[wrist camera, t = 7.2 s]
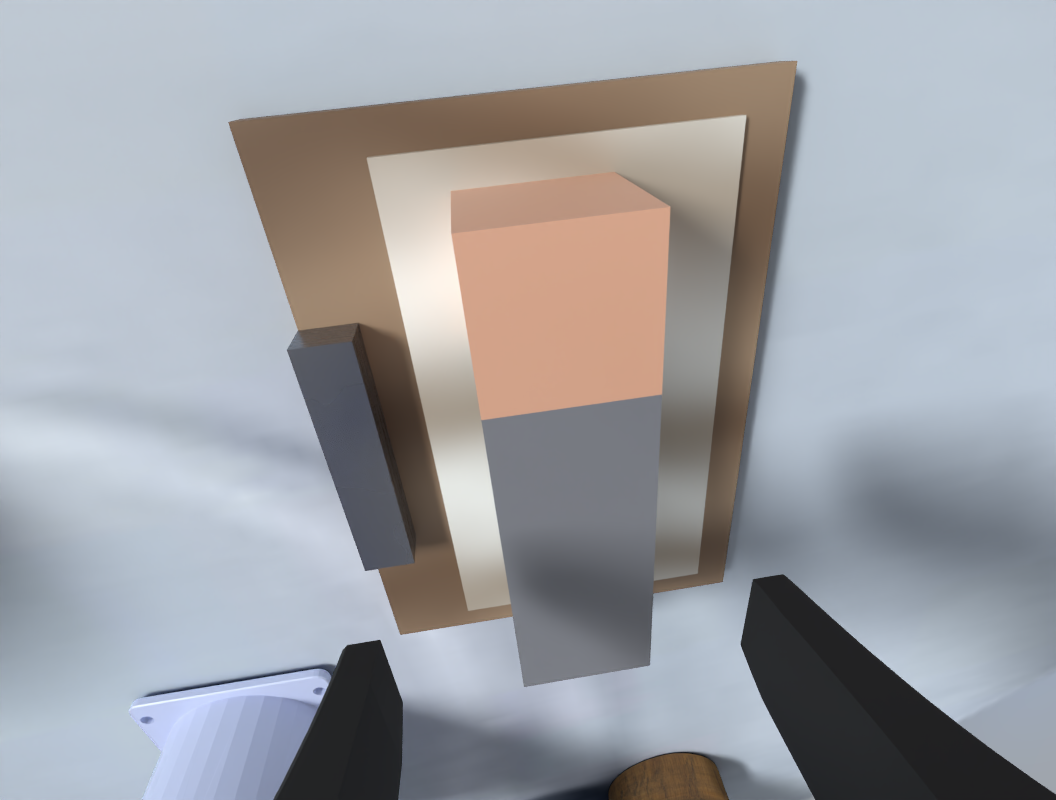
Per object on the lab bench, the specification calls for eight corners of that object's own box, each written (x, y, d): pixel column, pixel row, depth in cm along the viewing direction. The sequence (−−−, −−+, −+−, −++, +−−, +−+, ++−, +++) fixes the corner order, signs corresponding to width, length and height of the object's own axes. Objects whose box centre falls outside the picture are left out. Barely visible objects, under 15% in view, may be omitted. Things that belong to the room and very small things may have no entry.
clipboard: (714, 566, 23) (736, 606, 21) (401, 617, 22) (398, 662, 20) (779, 61, 14) (827, 60, 12) (240, 119, 13) (208, 127, 11)
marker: (616, 588, 21) (648, 687, 18) (514, 605, 21) (527, 708, 18) (614, 171, 13) (670, 206, 10) (450, 191, 13) (450, 233, 10)
